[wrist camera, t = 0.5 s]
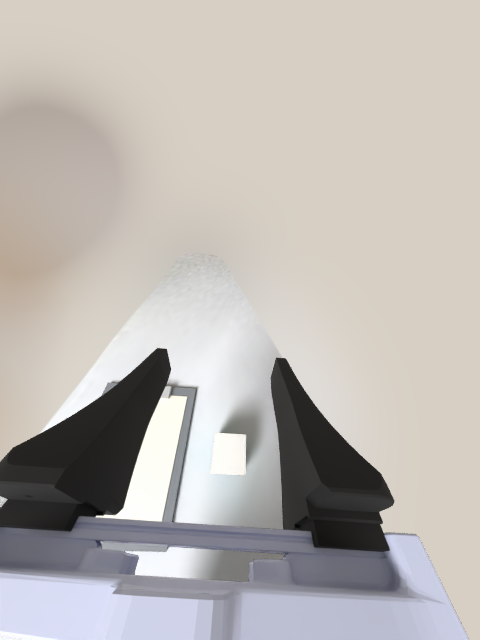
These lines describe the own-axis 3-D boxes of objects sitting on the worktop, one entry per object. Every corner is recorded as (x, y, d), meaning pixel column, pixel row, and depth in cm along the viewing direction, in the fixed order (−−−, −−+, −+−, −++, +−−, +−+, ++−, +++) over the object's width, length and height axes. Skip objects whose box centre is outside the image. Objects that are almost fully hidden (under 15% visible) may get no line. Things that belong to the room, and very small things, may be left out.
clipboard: (167, 550, 19) (164, 554, 18) (32, 546, 18) (21, 551, 17) (196, 389, 29) (195, 386, 28) (109, 383, 28) (105, 380, 27)
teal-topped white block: (240, 473, 23) (245, 475, 19) (211, 472, 23) (210, 473, 19) (241, 439, 25) (246, 434, 21) (215, 438, 25) (214, 432, 21)
